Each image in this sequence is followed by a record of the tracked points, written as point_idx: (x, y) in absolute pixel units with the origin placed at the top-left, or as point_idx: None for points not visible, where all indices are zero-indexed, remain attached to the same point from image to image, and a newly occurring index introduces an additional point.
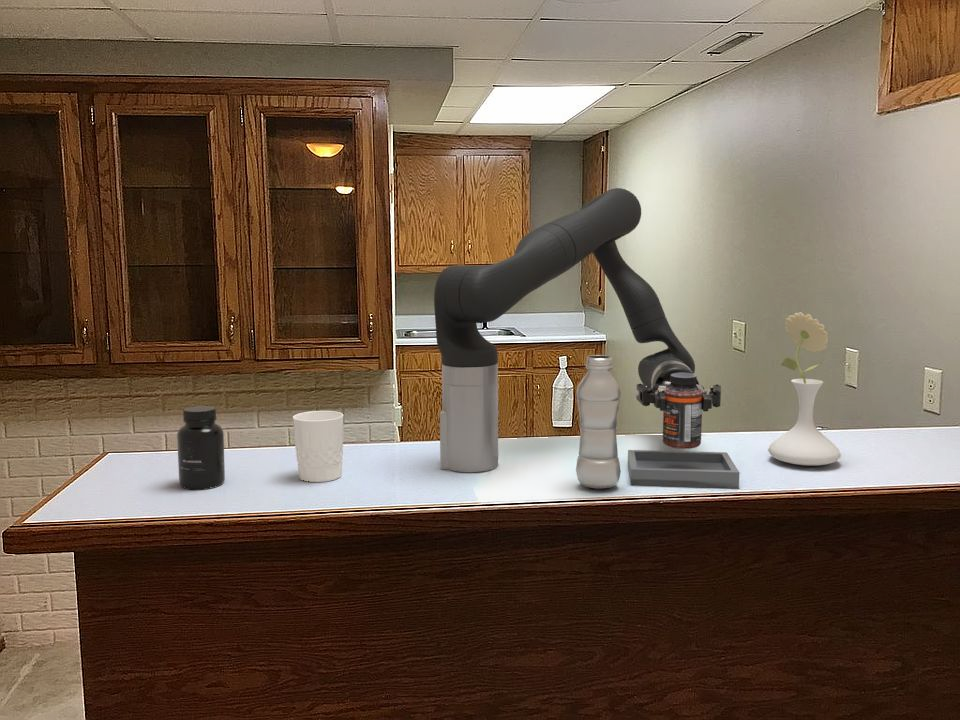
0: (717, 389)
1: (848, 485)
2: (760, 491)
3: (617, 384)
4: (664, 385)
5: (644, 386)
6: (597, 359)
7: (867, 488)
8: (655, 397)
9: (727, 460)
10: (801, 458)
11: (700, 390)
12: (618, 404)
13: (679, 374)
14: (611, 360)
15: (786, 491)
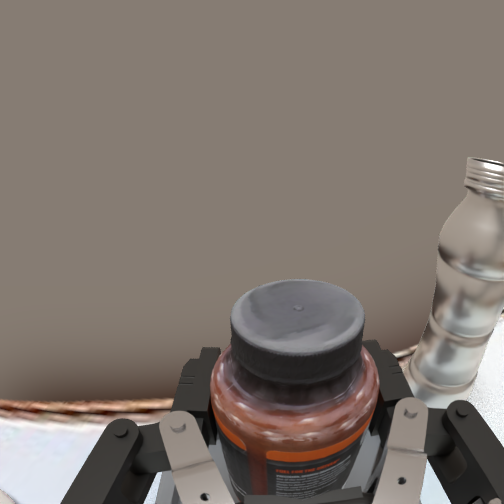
0: (101, 462)
1: (15, 427)
2: (152, 421)
3: (451, 224)
4: (401, 469)
5: (498, 484)
6: (480, 160)
7: (7, 413)
8: (400, 368)
9: (167, 495)
10: (8, 497)
11: (220, 355)
12: (438, 265)
13: (319, 308)
14: (469, 166)
15: (111, 418)
